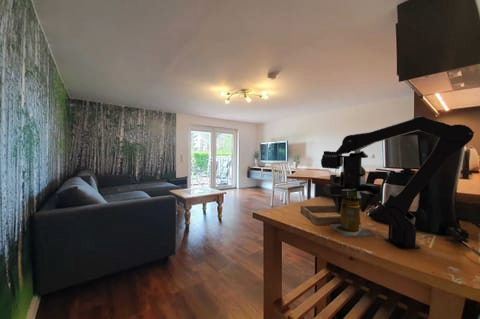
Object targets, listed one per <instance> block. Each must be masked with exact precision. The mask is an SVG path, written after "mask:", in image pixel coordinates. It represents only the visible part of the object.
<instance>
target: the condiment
mask: <svg viewBox="0 0 480 319" xmlns="http://www.w3.org/2000/svg"><path fill="white" fill-rule="evenodd" d="M360 212H361V209H360V205H359V198H358V197H355V196H347V195H344V196H343V195H342V204H341V215H340V216H341V224H340V225H339V226H337V227H336V228H334V229H333V230H335V229H336V230H338V231H341V232H345V233H348V234H352V235H357V234H358V233H359V232H360V231H361V230H362V229H364V228H362V227H361V228H359V227H360V224H359V219H360V220H361V215H360ZM336 230H335V231H336Z"/></svg>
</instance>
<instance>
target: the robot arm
mask: <svg viewBox="0 0 480 319" xmlns="http://www.w3.org/2000/svg"><path fill="white" fill-rule="evenodd" d="M414 132H422V133H425V134H427V135H429V136H432V137H436V138H438V140H437V142H436V143H435V146H434V147H433V150H432V152H431V153H430V154H429V155H428V156H427V158H426V160H425V161H424V162H423V163H422V165H421V166H420V167H419V168H418V169H417V171H416V173H415V174H414V175H413V176H412V177H411V178H410V180H409V181H408V182H407V184H405V186H404V187H403V188H402V190H401V191H399V192H398V193H397V194H396V193H395V192H394V191H392V192H391V193H390V195H389V197H388V198H387V199H386V200H385V201H384V202H383V203H382V205H383V208H382V213H383V215H384V217H385V218H386V219H388V222H389V225H388V236H387V237H384V240H385V241H386V242H388V243H390V244H392V245H393V246H395V247H397V248H399V249H401V250H409V249H421V246H420V245H418V244H416V239H417V228H416V227H415V223H416V216H414V215H413V214H412V213H411V212H410V211H409V210H410V209H411V206H412V205H413V202H414V200H415V198H416V197H417V196H418V195H419V193H421V191H422V190H423V189H424V188H425V187H426V185H427V184H428V183H429V182H430V180H432V178H433V177H434V176H435V175H436V173H437V172H439V170H440V169H441V167H442V166H443V165H444V164H445V163H446V161H448V160H449V159H450V158H452V156H454V155H455V154H456V153H458V152H460V150H461V149H462V148H464V147H465V146H466V145H468V144H469V143H470V142H471V141H472V140H473V139H474V132H473V129H472V128H470V127H469V126H467V125H464V124H459V123H458V124H451V125H450V124H449V123H445V122H441V121H437V120H433V119H430V118H427V117H425V116H420V115H419V116H415V117H414V118H411V119H408V120H406V121H405V120H404V121H402V122H399V123H396V124H392V125H389V126H386V127H383V128H380V129H376V130H372V131H370V132H363V133H355V134H354V133H353V134H348V135H346V136H345V137H343V139H342V143H341V145H340V146H339V147H338V149H337V150H336V151H330V150H324V151H323V154H322V156H321V159H320V164H321V168H323V169H333V170H334V169H335V170H339V169H340V168H341V167H342V171H341V172H340V176H339V175H337V174H331V175H329V183H330V184H329V183H326V184H324V185H323V188H322V191H323V192H325V193H326V194H327V195H328V196H330V197H331V198H332V201H333V203H334V204H333V205H335V206H336V209H337V212H338V213H337V212H336V213H337V214H339V213H340V211H341V204H342V203H343V195H341V194H342V193H345V192H353V191H362V192H359V193H360V195H361V209H360V212H362V213H365V211H366V210H367V208H368V207H369V205H370V204H371V203H372V201H373V200H374V199H375V197H378V195H381V194H382V193H381V192H382V189H381V187H380V185H376V184H373V183H365V184H361V177H363V176H364V174H363V173H361V166H362V160H363V159H367V158H369V155H367V154H366V152H365V151H364V150H363V149H366V148H367V147H369V146H371V145H373V144H376V143H379V142H382V141H386V140H389V139H394V138H396V137H397V138H398V137H399V136H404V135H407V134H410V133H414ZM358 150H360V153H354V151H358ZM344 154H346V155H344ZM347 154H349V155H347Z"/></svg>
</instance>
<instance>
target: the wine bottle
mask: <svg viewBox="0 0 480 319" xmlns="http://www.w3.org/2000/svg"><path fill="white" fill-rule="evenodd" d="M360 152H361V150H358V151H353V153H360ZM361 173H363V174H364V176H363V177H361V184H366V173H367V172H366V169H365V167H363V166H362V165H361ZM359 192H362V191H353V192H347V193H346V194H347V195H346V196H355V197H358V198H359V205H360V210H361V195H360V193H359Z"/></svg>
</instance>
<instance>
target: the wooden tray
mask: <svg viewBox="0 0 480 319" xmlns="http://www.w3.org/2000/svg"><path fill="white" fill-rule="evenodd" d="M300 213H301V214H302V215H303V216H305V217H306V218H307V219H308V220H309V221H311V223H313V224H314V225H315V226H330V224H341V211H340V213H338V212H337V209H336V206H335V204H333V205H328V204H327V205H301V206H300ZM315 213H316V214H317V213H318V214H319V213H322V214H323V213H336V214H339V215H340V216H339V215H337V216H334V215H333V216H317V215H316V214H315ZM359 225H361V218H360V219H359Z"/></svg>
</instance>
